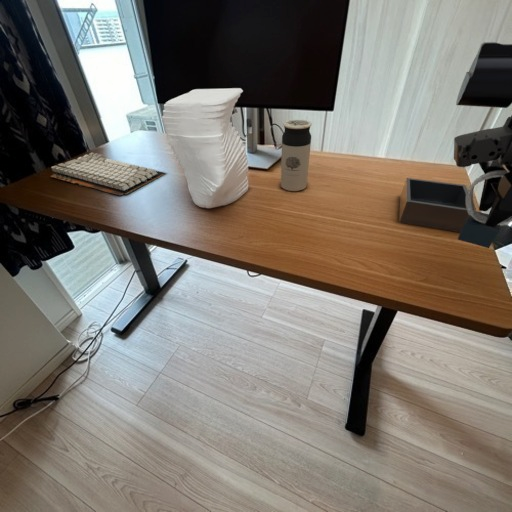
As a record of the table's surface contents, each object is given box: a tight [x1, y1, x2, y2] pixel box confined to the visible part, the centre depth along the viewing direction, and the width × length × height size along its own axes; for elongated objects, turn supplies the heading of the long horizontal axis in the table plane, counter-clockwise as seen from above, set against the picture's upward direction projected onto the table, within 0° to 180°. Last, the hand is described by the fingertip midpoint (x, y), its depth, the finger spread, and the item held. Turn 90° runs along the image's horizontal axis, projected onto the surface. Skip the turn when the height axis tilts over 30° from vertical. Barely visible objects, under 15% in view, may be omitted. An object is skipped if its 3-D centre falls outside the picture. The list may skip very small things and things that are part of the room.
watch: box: [457, 170, 512, 249], centre depth 43 cm, size 6×8×11 cm
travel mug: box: [280, 119, 313, 192], centre depth 77 cm, size 8×8×18 cm
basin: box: [399, 177, 477, 233], centre depth 67 cm, size 14×14×6 cm
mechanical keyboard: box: [50, 152, 167, 196], centre depth 93 cm, size 38×19×3 cm, turn 63°
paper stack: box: [161, 87, 250, 209], centre depth 72 cm, size 21×27×26 cm
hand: (485, 217), depth 43 cm, fingers closed on watch, 4 cm apart
